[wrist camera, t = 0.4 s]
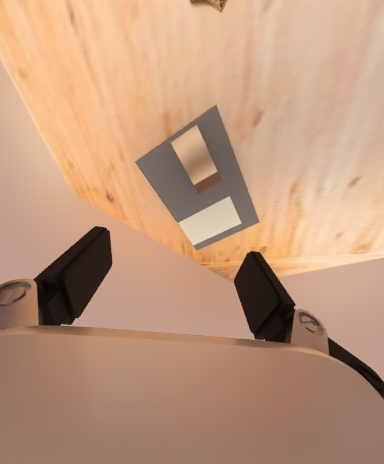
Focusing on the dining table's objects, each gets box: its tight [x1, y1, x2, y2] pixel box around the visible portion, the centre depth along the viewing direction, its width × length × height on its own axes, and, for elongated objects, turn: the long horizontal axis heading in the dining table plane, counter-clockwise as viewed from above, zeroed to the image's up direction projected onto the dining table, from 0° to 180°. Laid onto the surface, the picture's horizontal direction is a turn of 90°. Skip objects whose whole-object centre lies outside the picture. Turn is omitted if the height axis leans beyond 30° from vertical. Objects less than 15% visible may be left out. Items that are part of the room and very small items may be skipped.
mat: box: [136, 106, 259, 250], centre depth 33 cm, size 18×26×1 cm
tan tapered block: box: [171, 125, 222, 194], centre depth 28 cm, size 10×5×4 cm, turn 30°
